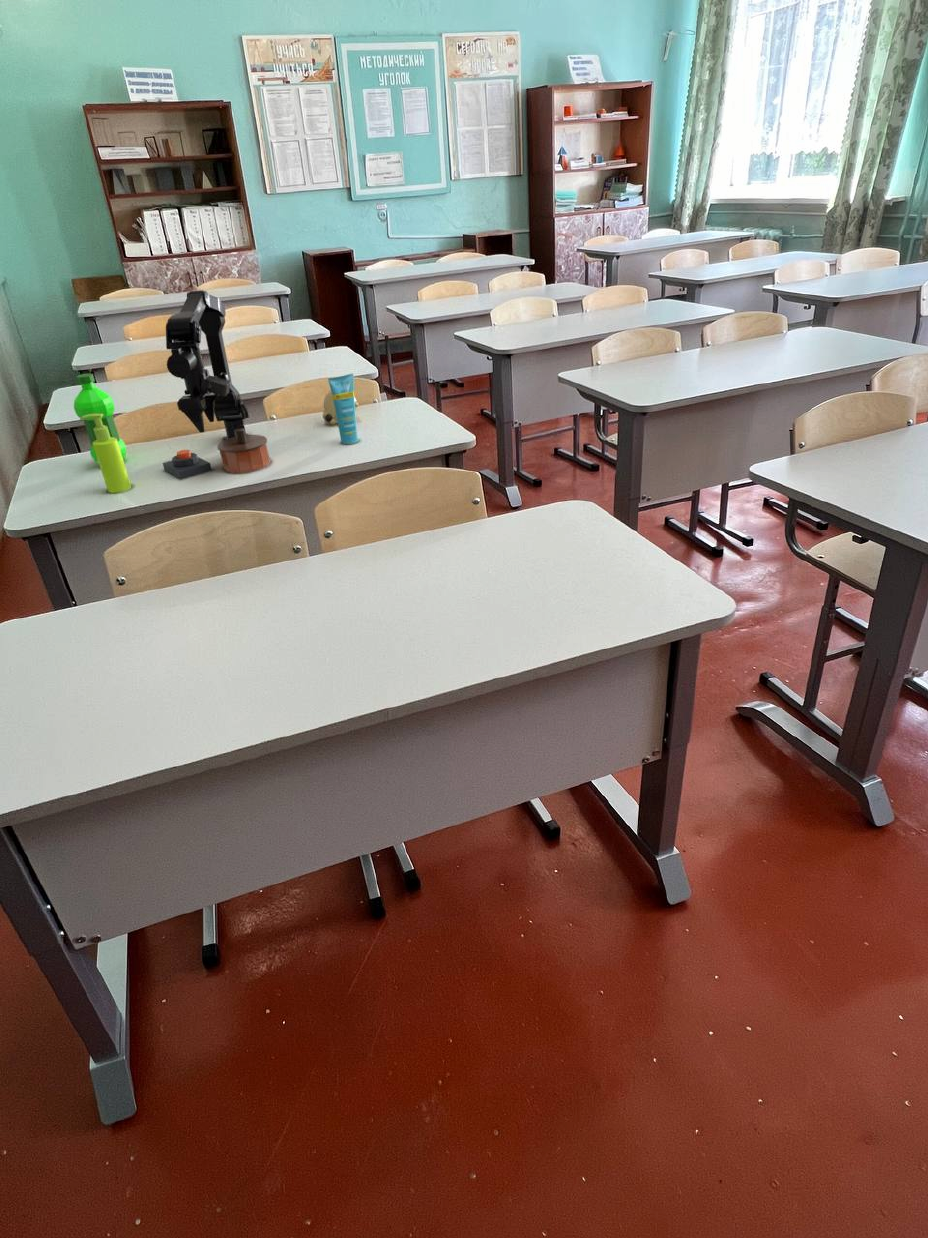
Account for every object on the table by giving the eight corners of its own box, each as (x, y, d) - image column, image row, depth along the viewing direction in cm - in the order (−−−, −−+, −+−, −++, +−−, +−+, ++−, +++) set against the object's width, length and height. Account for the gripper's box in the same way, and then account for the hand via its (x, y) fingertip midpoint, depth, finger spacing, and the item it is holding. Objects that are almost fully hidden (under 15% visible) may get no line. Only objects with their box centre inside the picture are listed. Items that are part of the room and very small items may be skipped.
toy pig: (341, 428, 246) (313, 409, 242) (362, 397, 243) (334, 378, 238) (343, 436, 238) (314, 417, 233) (365, 405, 235) (336, 384, 230)
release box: (164, 470, 212) (160, 456, 209) (194, 461, 216) (191, 448, 214) (181, 479, 204) (177, 465, 202) (211, 470, 209) (208, 456, 207)
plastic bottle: (108, 471, 214) (79, 381, 201) (86, 466, 219) (56, 378, 206) (138, 459, 221) (112, 372, 208) (115, 454, 226) (88, 369, 213)
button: (175, 458, 209) (174, 452, 208) (188, 454, 211) (186, 448, 210) (181, 461, 206) (179, 454, 205) (193, 457, 208) (192, 451, 207)
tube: (342, 446, 219) (331, 379, 209) (335, 442, 223) (324, 376, 213) (364, 440, 223) (356, 374, 213) (357, 437, 226) (348, 371, 216)
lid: (209, 445, 209) (205, 431, 206) (252, 433, 216) (249, 419, 214) (231, 456, 200) (228, 441, 198) (276, 442, 207) (273, 428, 205)
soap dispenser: (108, 486, 204) (84, 412, 193) (134, 483, 204) (111, 409, 193) (101, 494, 199) (75, 419, 188) (127, 491, 199) (104, 416, 188)
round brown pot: (216, 466, 212) (211, 445, 208) (256, 454, 218) (251, 434, 215) (237, 476, 203) (232, 455, 200) (278, 463, 210) (273, 442, 207)
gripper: (213, 374, 189) (227, 435, 197) (232, 357, 205) (244, 414, 213) (169, 377, 189) (185, 438, 198) (192, 360, 205) (205, 417, 214)
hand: (207, 426), depth 205 cm, fingers open, 9 cm apart
